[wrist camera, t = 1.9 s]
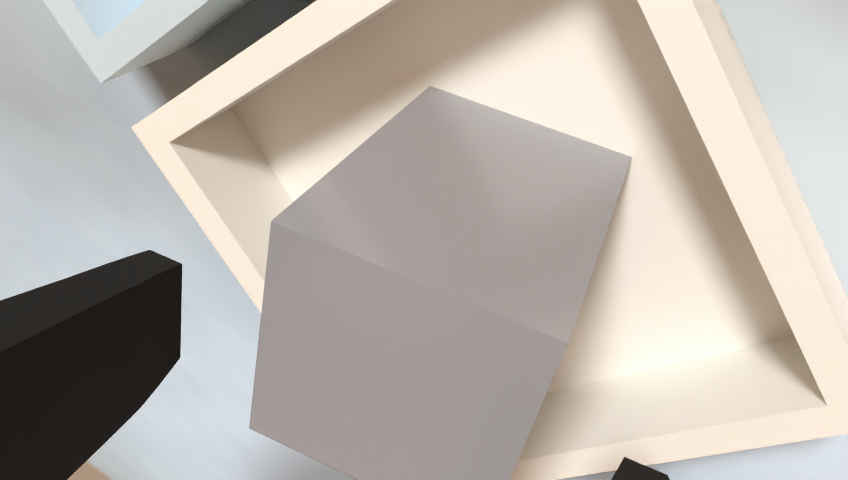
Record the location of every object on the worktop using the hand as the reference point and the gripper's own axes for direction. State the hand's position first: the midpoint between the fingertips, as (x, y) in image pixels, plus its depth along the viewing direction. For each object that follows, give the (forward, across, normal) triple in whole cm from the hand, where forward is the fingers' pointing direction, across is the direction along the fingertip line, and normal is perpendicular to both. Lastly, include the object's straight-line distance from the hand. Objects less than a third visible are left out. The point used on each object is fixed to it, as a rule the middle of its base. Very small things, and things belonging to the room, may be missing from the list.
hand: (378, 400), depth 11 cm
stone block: (+7, 0, 0) cm, 7 cm away
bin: (+7, 0, 0) cm, 7 cm away
